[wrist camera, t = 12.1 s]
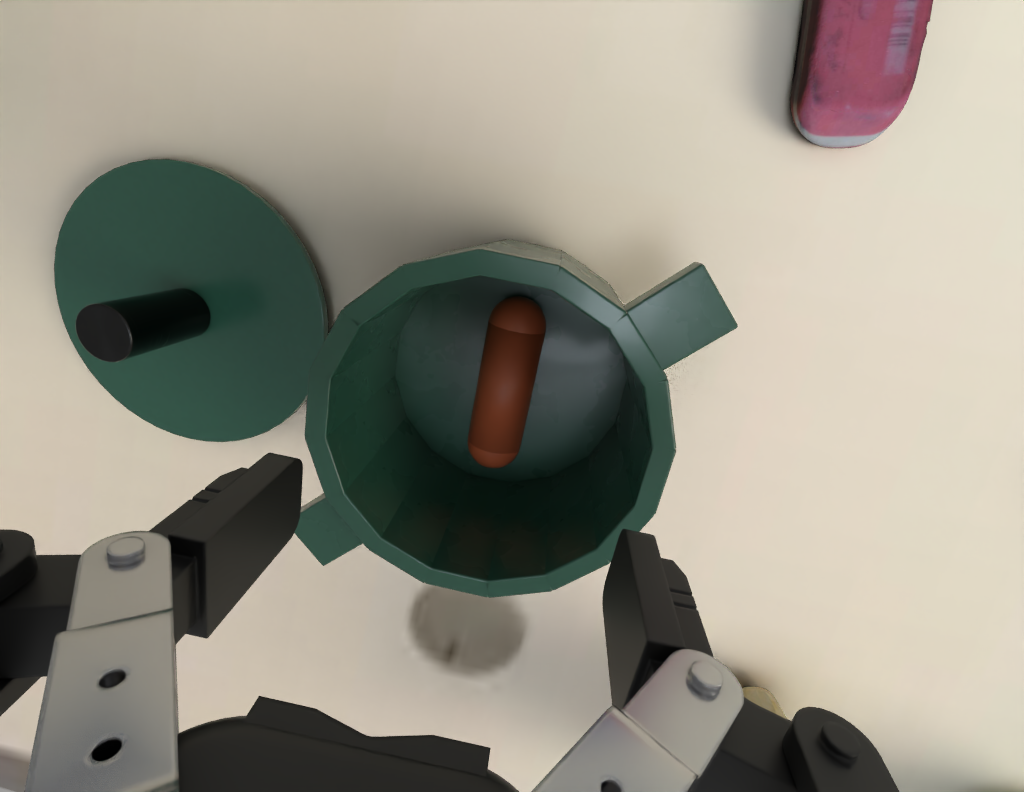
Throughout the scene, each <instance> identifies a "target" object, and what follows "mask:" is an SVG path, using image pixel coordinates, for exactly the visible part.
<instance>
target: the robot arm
mask: <svg viewBox="0 0 1024 792" xmlns="http://www.w3.org/2000/svg"><path fill="white" fill-rule="evenodd" d="M302 474H303V465H302V461H301V460H300V459H297V458H293V457H288V456H283V455H278V454H274V453H268V454H266V455H265V456H263V457H262V458H261V459H260V460H259V461H257V462H256V463H255V464H254V465H252V466H251V467H250V468H249V469H246V468H240V469H237V470H234V471H232V472H229V473H227V474H224V475H222V476H220V477H219V478H217V479H216V480H215V481H213V482H212V483H211V484H209V485H208V486H207V487H206V488H205V490H202V491H200V492H199V493H198V494H196V495H195V496H194V497H193V499H192V500H189V501H187V502H186V503H185V504H183V505H182V506H181V507H180V508H178V509H177V510H176V511H174V512H173V513H172V514H170V515H169V516H168V517H167V518H165V519H164V520H163V521H161V522H160V523H159V524H157V525H156V526H155V527H154V528H152V529H151V530H150V531H132V532H125V533H120V534H116V535H112V536H110V537H107V538H104V539H102V540H100V541H98V542H96V543H95V544H93V545H91V546H90V547H89V548H87V549H86V550H85V551H84V552H83V554H82V555H36V551H35V545H34V540H33V538H32V537H31V536H30V535H29V534H27V533H24V532H21V531H17V530H0V716H1V715H2V714H3V713H4V712H5V711H6V710H7V709H8V708H9V707H10V706H11V705H12V704H13V703H15V702H16V701H17V700H18V699H19V698H20V697H21V696H22V695H23V694H24V693H25V692H26V691H27V690H28V689H29V688H30V687H31V686H32V685H33V684H34V683H35V682H36V681H37V680H38V679H39V678H40V677H43V676H47V680H46V685H45V690H44V695H43V700H42V705H41V710H40V715H39V720H38V725H37V730H36V735H35V740H34V745H33V750H32V755H31V760H30V765H29V770H28V775H27V780H26V785H25V790H24V792H519V791H518V790H517V789H516V788H514V787H513V786H512V785H511V784H510V783H509V782H507V781H506V780H504V779H503V778H502V777H500V776H499V775H497V774H496V773H494V772H492V771H490V770H488V761H489V754H490V748H488V747H484V746H479V745H475V744H471V743H466V742H462V741H457V740H453V739H448V738H444V737H439V736H435V735H420V736H387V737H370V736H366V735H364V734H362V733H360V732H358V731H356V730H354V729H353V728H351V727H349V726H347V725H345V724H343V723H341V722H339V721H338V720H336V719H334V718H332V717H330V716H328V715H326V714H325V713H323V712H321V711H319V710H317V709H315V708H310V707H306V706H302V705H297V704H293V703H288V702H284V701H279V700H275V699H270V698H266V697H262V696H259V697H258V699H257V700H256V702H255V704H254V705H253V707H252V708H251V710H250V711H249V713H248V715H247V716H238V717H231V718H224V719H219V720H215V721H211V722H207V723H204V724H201V725H198V726H196V727H193V728H190V729H188V730H185V731H183V732H181V733H179V720H178V694H177V668H176V644H177V642H178V641H179V640H180V639H181V638H182V637H183V636H184V635H185V634H189V635H194V636H198V637H203V638H208V637H209V636H210V635H211V633H212V632H213V631H214V630H215V629H216V627H217V626H218V625H219V624H220V623H221V621H222V620H223V619H224V618H225V617H226V615H227V614H228V613H229V612H230V611H231V609H232V608H233V607H234V606H235V605H236V603H237V602H238V601H239V600H240V599H241V597H242V596H243V595H244V594H245V593H246V592H247V590H248V589H249V588H250V587H251V586H252V584H253V583H254V582H255V581H256V580H257V578H258V577H259V576H260V575H261V574H262V572H263V571H264V570H265V569H266V568H267V566H268V565H269V564H270V563H271V562H272V560H273V559H274V558H275V557H276V556H277V554H278V553H279V552H280V551H281V550H282V548H283V547H284V546H285V545H286V544H287V542H288V541H289V540H290V539H291V537H292V536H293V534H294V532H295V530H296V528H297V525H298V522H299V518H300V511H301V492H302ZM603 615H604V625H605V636H606V646H607V656H608V666H609V676H610V686H611V696H612V706H611V707H610V708H609V709H608V710H607V711H606V712H605V713H604V714H603V715H602V716H601V717H600V718H599V719H598V720H597V721H596V722H595V723H594V724H593V726H592V727H591V728H590V729H589V730H588V731H587V732H586V733H585V734H584V735H583V736H582V737H581V739H580V740H579V741H578V742H577V743H576V744H575V745H574V746H573V747H572V748H571V749H570V750H569V752H568V753H567V754H566V755H565V756H564V757H563V758H562V759H561V760H560V761H559V762H558V763H557V765H556V766H555V767H554V768H553V769H552V770H551V771H550V772H549V773H548V774H547V775H546V776H545V778H544V779H543V780H542V781H541V782H540V783H539V784H538V785H537V786H536V787H535V788H534V789H533V791H532V792H899V790H898V788H897V786H896V784H895V783H894V781H893V779H892V777H891V775H890V773H889V771H888V769H887V767H886V765H885V764H884V762H883V760H882V758H881V756H880V754H879V753H878V751H877V749H876V748H875V747H874V745H873V744H872V743H871V742H870V741H869V739H868V738H867V737H866V736H865V735H864V734H863V733H862V732H861V731H860V730H858V729H857V728H856V727H855V726H853V725H852V724H851V723H849V722H848V721H846V720H845V719H844V718H842V717H840V716H838V715H836V714H834V713H832V712H830V711H827V710H824V709H821V708H816V707H806V708H802V709H800V710H799V711H798V712H796V714H795V716H794V718H793V720H792V721H790V720H787V719H785V718H783V717H781V716H779V715H777V714H775V713H773V712H771V711H769V710H767V709H765V708H763V707H761V706H759V705H757V704H755V703H753V702H751V701H750V700H748V699H747V698H745V697H744V693H743V690H742V687H741V685H740V683H739V681H738V680H737V678H736V677H735V675H734V674H733V673H732V672H731V671H730V670H729V669H728V668H727V667H726V666H725V665H724V664H722V663H721V662H720V661H718V660H717V659H715V658H714V657H713V654H712V651H711V648H710V645H709V642H708V639H707V636H706V633H705V630H704V627H703V624H702V621H701V619H700V616H699V613H698V610H696V604H695V601H694V598H693V596H692V592H691V589H690V586H689V583H688V580H687V577H686V576H685V574H684V573H683V572H682V571H681V570H680V568H679V567H678V566H677V565H676V564H675V562H674V561H673V560H668V559H663V558H661V557H660V553H659V550H658V546H657V543H656V539H655V537H654V535H651V534H646V533H641V532H637V531H632V530H627V529H622V531H621V533H620V535H619V538H618V541H617V544H616V548H615V551H614V554H613V558H612V561H611V564H610V567H609V571H608V574H607V577H606V581H605V585H604V591H603Z"/></svg>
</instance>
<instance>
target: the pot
mask: <svg viewBox="0 0 1024 792" xmlns="http://www.w3.org/2000/svg"><path fill="white" fill-rule="evenodd" d="M515 296H521V297H526V298H528V299H530V300H532V301H534V302H535V303H536V304H537V305H538V306H539V307H540V308H541V309H542V311H543V313H544V316H545V320H546V332H545V337H544V341H543V346H542V351H541V355H540V360H539V364H538V369H537V373H536V378H535V383H534V387H533V392H532V396H531V401H530V406H529V410H528V415H527V419H526V424H525V428H524V433H523V438H522V442H521V447H520V450H519V453H518V454H517V456H516V458H515V459H514V460H513V461H512V462H511V463H509V464H508V465H506V466H504V467H501V468H488V467H485V466H482V465H480V464H479V463H478V462H476V461H475V460H474V458H473V457H472V456H471V454H470V452H469V449H468V443H467V442H468V433H469V428H470V422H471V416H472V411H473V405H474V400H475V394H476V389H477V383H478V377H479V372H480V366H481V361H482V355H483V350H484V344H485V338H486V333H487V327H488V322H489V318H490V315H491V313H492V311H493V309H494V308H495V306H496V305H497V304H498V303H500V302H501V301H503V300H504V299H506V298H510V297H515ZM736 328H737V323H736V321H735V320H734V318H733V316H732V314H731V313H730V311H729V309H728V307H727V305H726V304H725V302H724V300H723V298H722V296H721V295H720V293H719V291H718V289H717V288H716V286H715V284H714V282H713V280H712V279H711V277H710V275H709V273H708V271H707V270H706V268H705V266H704V265H703V264H701V263H698V262H694V263H692V264H691V265H689V266H687V267H686V268H684V269H683V270H681V271H679V272H678V273H676V274H675V275H673V276H671V277H670V278H668V279H667V280H665V281H663V282H662V283H660V284H659V285H657V286H655V287H654V288H652V289H651V290H649V291H647V292H646V293H644V294H643V295H641V296H639V297H638V298H636V299H635V300H633V301H631V302H630V303H628V304H627V305H625V306H623V304H622V303H621V301H620V300H619V298H618V297H617V295H616V293H615V292H614V290H613V289H612V287H611V286H610V284H608V282H607V281H605V280H604V279H602V278H601V277H600V276H598V275H597V274H595V273H594V272H592V271H591V270H590V269H589V268H587V267H586V266H585V265H583V264H581V263H580V262H578V261H577V260H575V259H574V258H572V257H571V256H570V255H568V254H567V253H565V252H562V250H558V249H553V248H548V247H543V246H540V245H536V244H529V243H524V242H519V241H514V240H509V239H508V240H507V239H505V240H501V241H496V242H491V243H486V244H481V245H477V246H472V247H467V248H463V249H458V250H453V251H450V252H446V253H443V254H439V255H436V256H432V257H428V258H425V259H421V260H418V261H414V262H410V263H407V264H403V265H402V266H400V267H398V268H397V269H396V270H394V271H393V272H391V273H390V274H389V275H387V276H386V277H385V278H383V279H382V280H381V281H379V282H378V283H377V284H375V285H374V286H372V287H371V288H370V289H368V290H367V291H366V292H364V293H363V294H362V295H360V296H359V297H358V298H356V299H355V300H354V301H352V302H351V303H349V304H348V305H347V306H345V307H344V309H343V310H341V312H340V314H339V315H338V317H337V319H336V321H335V323H334V325H333V327H332V328H331V330H330V332H329V334H328V336H327V338H326V340H325V341H324V343H323V345H322V347H321V349H320V351H319V353H318V354H317V356H316V358H315V360H314V362H313V364H312V366H311V367H310V371H309V378H308V393H307V409H306V425H305V439H306V442H307V445H308V448H309V451H310V454H311V457H312V460H313V463H314V465H315V468H316V471H317V474H318V477H319V480H320V483H321V486H322V489H323V491H324V493H323V494H322V495H320V496H318V497H317V498H315V499H314V500H312V501H310V502H309V503H307V504H306V505H304V506H302V507H301V511H300V518H299V522H298V525H297V528H296V530H295V532H294V533H295V534H296V535H297V536H298V538H299V539H300V540H301V541H302V542H303V543H304V544H305V546H306V547H307V548H308V549H309V550H310V551H311V553H312V554H313V555H314V556H315V557H316V558H317V560H318V561H319V562H320V563H321V564H322V565H323V566H324V565H326V564H328V563H329V562H331V561H333V560H335V559H336V558H338V557H340V556H342V555H343V554H345V553H347V552H349V551H350V550H352V549H354V548H356V547H357V546H359V545H361V544H362V543H363V544H364V545H365V546H366V547H367V548H368V549H369V550H370V551H372V552H373V553H375V554H377V555H378V556H380V557H381V558H383V559H385V560H386V561H388V562H390V563H391V564H393V565H395V566H396V567H398V568H400V569H401V570H403V571H405V572H406V573H408V574H409V575H411V576H413V577H414V578H416V579H418V580H419V581H421V582H423V583H424V582H425V583H426V584H430V585H435V586H439V587H443V588H448V589H452V590H456V591H461V592H465V593H469V594H474V595H478V596H483V597H489V598H491V597H501V596H511V595H521V594H530V593H540V592H550V591H552V590H556V589H558V588H560V587H562V586H564V585H566V584H568V583H570V582H572V581H574V580H576V579H578V578H580V577H582V576H585V575H587V574H589V573H591V572H593V571H595V570H597V569H599V568H601V567H603V566H605V565H607V564H609V563H610V562H611V561H612V558H613V554H614V551H615V548H616V544H617V541H618V538H619V535H620V533H621V531H622V529H627V530H632V531H637V532H639V531H640V530H641V529H642V528H643V527H644V526H645V525H646V524H647V523H648V521H649V520H650V519H651V518H652V517H653V516H654V514H655V513H656V511H657V508H658V505H659V502H660V499H661V495H662V492H663V489H664V486H665V483H666V480H667V477H668V474H669V471H670V468H671V465H672V462H673V459H674V456H675V453H676V443H675V434H674V426H673V417H672V409H671V400H670V392H669V384H668V380H667V376H666V374H665V372H664V371H663V370H664V369H666V368H668V367H670V366H671V365H673V364H675V363H677V362H678V361H680V360H682V359H684V358H685V357H687V356H689V355H690V354H692V353H694V352H696V351H697V350H699V349H701V348H703V347H704V346H706V345H708V344H710V343H711V342H713V341H715V340H717V339H718V338H720V337H722V336H724V335H725V334H727V333H729V332H730V331H732V330H734V329H736Z"/></svg>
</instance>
